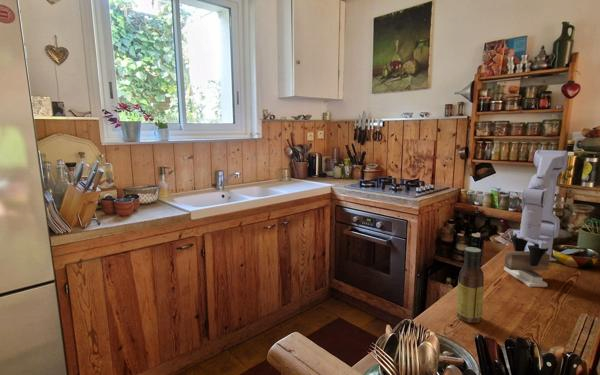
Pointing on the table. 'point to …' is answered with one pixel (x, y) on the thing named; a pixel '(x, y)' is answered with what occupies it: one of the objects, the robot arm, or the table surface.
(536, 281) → the ridge stand
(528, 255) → the walnut batten
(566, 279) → the table surface
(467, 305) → the sauce bottle
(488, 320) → the table surface
